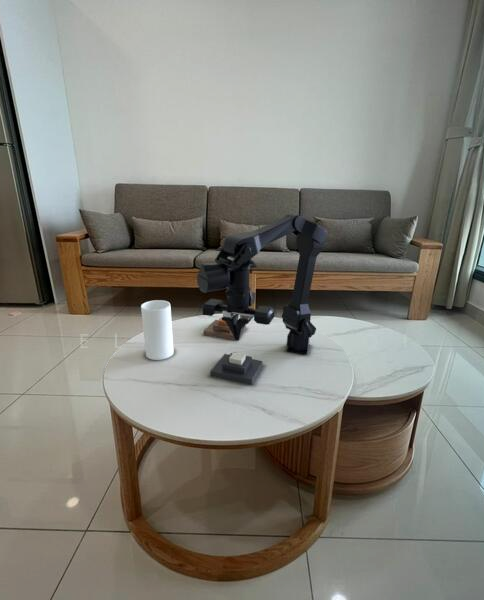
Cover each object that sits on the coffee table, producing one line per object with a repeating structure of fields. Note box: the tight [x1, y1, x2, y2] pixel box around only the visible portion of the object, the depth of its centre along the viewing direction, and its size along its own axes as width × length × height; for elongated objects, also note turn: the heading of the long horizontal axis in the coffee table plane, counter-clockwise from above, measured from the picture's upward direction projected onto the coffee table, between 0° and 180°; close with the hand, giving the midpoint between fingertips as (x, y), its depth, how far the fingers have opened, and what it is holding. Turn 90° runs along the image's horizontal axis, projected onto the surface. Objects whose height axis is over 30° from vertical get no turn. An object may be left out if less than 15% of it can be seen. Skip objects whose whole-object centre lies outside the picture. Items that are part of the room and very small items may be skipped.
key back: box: [218, 317, 228, 326], centre depth 113 cm, size 4×4×2 cm
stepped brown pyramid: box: [203, 317, 247, 341], centre depth 114 cm, size 12×10×4 cm
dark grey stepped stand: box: [210, 352, 264, 386], centre depth 91 cm, size 12×10×4 cm
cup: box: [140, 299, 175, 361], centre depth 97 cm, size 8×8×16 cm
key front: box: [229, 351, 247, 365], centre depth 90 cm, size 4×4×2 cm
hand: (237, 339), depth 88 cm, fingers closed
